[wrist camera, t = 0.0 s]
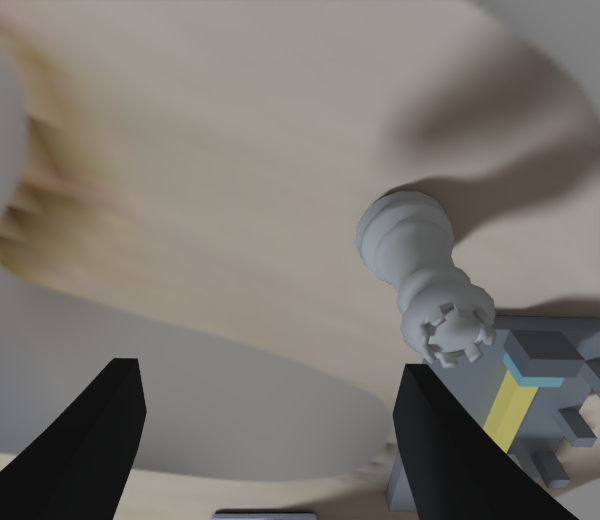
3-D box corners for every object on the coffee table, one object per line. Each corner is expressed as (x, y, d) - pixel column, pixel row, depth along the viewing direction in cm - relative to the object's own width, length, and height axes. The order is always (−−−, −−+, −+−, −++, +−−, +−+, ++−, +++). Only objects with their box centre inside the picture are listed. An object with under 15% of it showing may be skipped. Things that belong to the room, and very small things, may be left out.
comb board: (514, 494, 33) (537, 542, 30) (385, 494, 32) (396, 543, 29) (609, 318, 24) (654, 361, 21) (436, 314, 24) (458, 357, 21)
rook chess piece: (369, 177, 19) (418, 271, 13) (460, 196, 20) (553, 296, 13) (342, 261, 22) (372, 379, 15) (425, 275, 22) (490, 395, 15)
